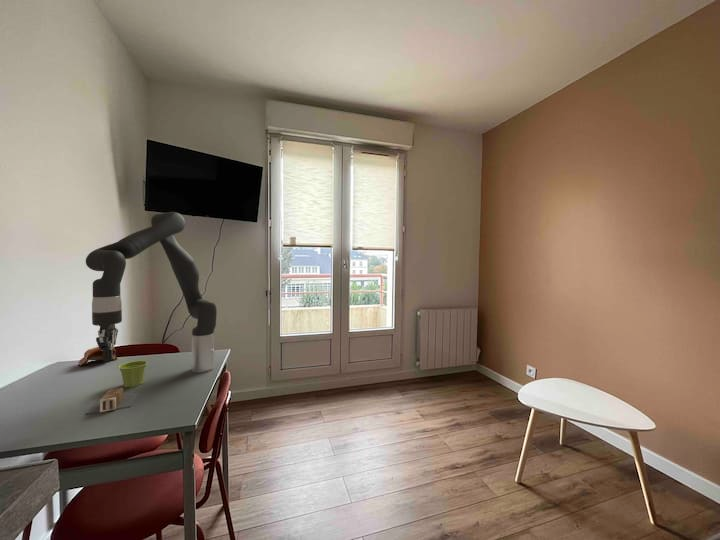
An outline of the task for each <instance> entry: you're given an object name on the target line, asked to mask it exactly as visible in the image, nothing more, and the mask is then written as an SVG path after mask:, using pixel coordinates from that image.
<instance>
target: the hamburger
mask: <svg viewBox="0 0 720 540" xmlns="http://www.w3.org/2000/svg"><path fill="white" fill-rule="evenodd" d="M112 349H113V359H112V360H115V361H116V360H117V359H118V356H117V350H116V348H115V347H114V348H112ZM88 360H99V361H103V351H102V350H100V349H99V346H95V347H92V348H89V349H87V350H85V352H84V353H83V356H82V358H80V360H78V364H77V366H78V365H80V366H84V365H83V364H86V363H87V362H88ZM86 365H87V364H86Z"/></svg>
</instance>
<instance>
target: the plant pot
mask: <svg viewBox="0 0 720 540" xmlns="http://www.w3.org/2000/svg"><path fill="white" fill-rule="evenodd" d="M147 364H148V361H146V360H135V361H128V362H125V363H122V364H120V365H119V366H118V369H119V371H120V372H121V377H122V381H123V382H122V383H123V388H135V387H139V386H140V385H142V384H143V382H144V376H145V371H146V367H147Z"/></svg>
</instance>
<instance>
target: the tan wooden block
mask: <svg viewBox="0 0 720 540" xmlns="http://www.w3.org/2000/svg"><path fill="white" fill-rule="evenodd" d="M123 394H124V387H120V388H111V389H108V391H107V392H106V393H105V394H104V395H103V396H102V397H103V398H102V397H101V398H102V399H101V400H100V412H99V413H105V412H109V411H115V410H117V409H116V408H117V407H118V405H119V404H120V402H121V401H122V399H123Z"/></svg>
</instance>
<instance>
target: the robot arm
mask: <svg viewBox="0 0 720 540" xmlns="http://www.w3.org/2000/svg"><path fill="white" fill-rule="evenodd" d="M150 223H151V226H149V227H146V228H144V229H141V230H138V231H135V232H133V233H130V234H128V235H127V236H125V237H123V238H121V239H119V240H118V241H116V242H114V243H110V244H107V245H104V246H102V247H99V248H96V249H94V250H93V251H90V252H89V253H88V254H87V256H86V258H85V265H86V267H87V268H88V269H90V270H92V271H94V272H102V276H101V278H97V279H95V280H93V282H92V302H91V324H92V325H93V326H97V327H99V330H98V331H97V335H98V336H97V337H96V338H95V340H96V343H97V344H96V345H97V347H99V349H100V350H102V351H103V360H102V361H103V362H111V361H113V360H114V359H113V349H112V348H115V346H116V345H117V344H116V343H117V342H116V341H117V337H118V332H119V329H118V328H117V327H116V325H117V324H120V323H122V321H123V309H122V306H123V305H122V295H121V282H122V280H123V277H124V274H125V270H126V265H127V260H129V259H133V258H134V257H136V256H138V255H139V254H141V253H142V252H144V251H145V250H147V249H148V248H150V247H151V246H153V245H155V244H157V243H160V244H161V246H162V249H163V250H164V252H165V254H166V257H167V259H168V262H169V264H170V266H171V269H172V271H173V274H174V276H175V278H176V280H177V282H178V285H179V288H180V290H181V292H182V294H183V297H184V300H185V304H186V309H187V311H188V313H189V316H191V317H192V318H193V319H196V320H197V323H196V326H195V327H193V328H192V330H191V371H192V372H193V373H204V372H205V373H206V372H208V371H209V372H210V371H213V370H215V328H216V326H217V325H216V324H217V313H218V312H217V305H216V304H215V302H213V301H210V300H204V298H203V297H202V294H201V292H200V289H199V283H200V282H199V281H200V273H199V269H198V267H197V265H196V262H195V260H194V258H193V257H192V256H191V255H190V254H189V253H188V251H186V250H185V249H184V248H183V247H182V246H181V245H180V244H179V243H178V241H177V239H176V237H175V235H176V234H179V233H182V232H183V231H184V230H185V228H186V220H185V217H184V216H183V215H182V214H181V213H179V212H175V211H169V212H168V211H167V212H163V213H156V214H154V215H153V216H152V217H151V219H150Z"/></svg>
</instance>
